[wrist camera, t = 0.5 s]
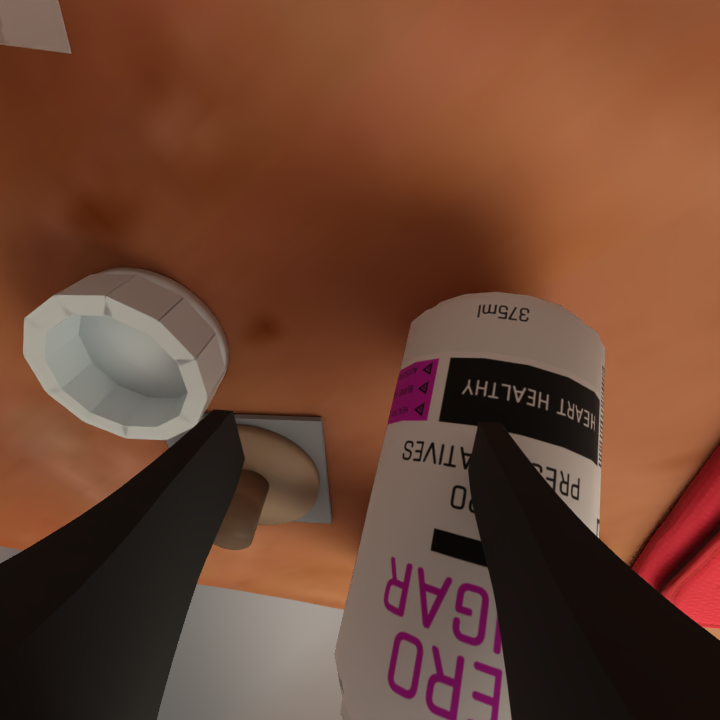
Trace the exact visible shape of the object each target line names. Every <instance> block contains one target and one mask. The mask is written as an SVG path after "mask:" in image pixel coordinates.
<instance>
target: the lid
mask: <svg viewBox="0 0 720 720" xmlns="http://www.w3.org/2000/svg"><path fill="white" fill-rule="evenodd" d="M236 425H237V429H238V433H239V437H240V440H241V444H242V448H243V452H244V456H245V461H244V464H243V468H242V472H241V475H240V479H239V482H238V485H237V488H236V491H235V494H234V496H233V498H232V501H231V503H230V505H229V508H228V510H227V513H226V515H225V517H224V519H223V522H222V524H221V526H220V529H219V531H218V533H217V535H216V538H215V540H214V542H213V544H215V545H217V546H219V547H221V548H225V549H230V550H241V549H245V548H247V547H249V546H250V545H251V543H252V540H253V537H254V534H255V531H256V528H257V525H277V524H284V523H288V522H291V521H294V520H296V519H298V518H300V517H302V516H304V515H305V514H306V513H308V512H309V511H310V510H311V509H312V507H313V506H314V504H315V503H316V500H317V497H318V492H319V486H320V476H319V472H318V469H317V467H316V465H315V463H314V462H313V460H312V459H311V457H310V456H309V455H308V454H307V453H306V452H305V451H304V450H303V449H302V448H301V447H300V446H298V445H297V444H296V443H294V442H293V441H291V440H290V439H288V438H286V437H284V436H282V435H280V434H278V433H276V432H273V431H270V430H268V429H264V428H261V427H256V426H251V425H242V424H236Z"/></svg>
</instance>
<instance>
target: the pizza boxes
mask: <svg viewBox="0 0 720 720" xmlns="http://www.w3.org/2000/svg"><path fill="white" fill-rule="evenodd" d="M0 45H8V46H15V47H23V48H31V49H38V50H46V51H54V52H62V53H69V54H72V53H71V49H70V45H69V41H68V37H67V33H66V29H65V25H64V21H63V17H62V13H61V9H60V5H59V1H58V0H0Z"/></svg>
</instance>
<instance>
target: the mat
mask: <svg viewBox="0 0 720 720" xmlns="http://www.w3.org/2000/svg"><path fill="white" fill-rule="evenodd" d="M208 414H209V413H204V414H203V415H202V417H201V419H200V420H199V422H200V421H201V420H202V419H203V418H204V417H206V416H207V415H208ZM234 417H235V421H236V424H242V425H251V426H256V427H261V428H264V429H268V430H270V431H273V432H276V433H278V434H280V435H282V436H284V437H286V438H288V439H290V440H291V441H293V442H294V443H296V444H297V445H298V446H300V447H301V448H302V449H303V450H304V451H305V452H306V453H307V454H308V455H309V456H310V457H311V459H312V460H313V462H314V463H315V465H316V467H317V469H318V472H319V476H320V486H319V492H318V497H317V500H316V503H315V504H314V506H313V507H312V509H311V510H310V511H309V512H308V513H306V514H305V515H304V516H302V517H300V518H298V519H296V520H294V521H291V522H309V523H327V524H332V513H331V503H330V493H329V483H328V473H327V463H326V454H325V444H324V434H323V424H322V417H302V416H274V415H246V414H234ZM199 422H198V423H199ZM191 429H192V428H191ZM191 429H189V430H187V431H185V432H183V433H180V434H178V435H176V436H174V437H172V438H170V439H168V440H166V442H167V445H168V447H169V448H170V447H171V446H172V445H174V444H175V443H176V442H177V441H178V440H179V439H181V438H182V437H183V436H184V435H185V434H186V433H187V432H189V431H190V430H191Z"/></svg>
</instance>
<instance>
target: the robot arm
mask: <svg viewBox="0 0 720 720" xmlns="http://www.w3.org/2000/svg"><path fill="white" fill-rule="evenodd" d="M244 461H245V456H244V452H243V448H242V444H241V440H240V437H239V433H238V429H237V425H236V421H235V417H234V413H233V411H222V410H213V411H212V412H210V413H209V414H208V415H207V416H206V417H204V418H203V419H202V420H201V421H200V422H199V423H198V424H196V425H195V426H194V427H193V428H192V429H191V430H190V431H189V432H187V433H186V434H185V435H184V436H183V437H182V438H181V439H179V440H178V441H177V442H176V443H175V444H174V445H172V446H171V447H170V448H169V449H168V450H167V451H165V452H164V453H163V454H162V455H161V456H160V457H158V458H157V459H156V460H155V461H154V462H152V463H151V464H150V465H148V466H147V467H146V468H145V469H143V470H142V471H141V472H140V473H138V474H137V475H136V476H135V477H133V478H132V479H131V480H129V481H128V482H127V483H126V484H124V485H123V486H122V487H121V488H119V489H118V490H116V491H115V492H114V493H112V494H111V495H110V496H108V497H107V498H105V499H104V500H103V501H101V502H100V503H98V504H97V505H95V506H94V507H92V508H91V509H89V510H88V511H87V512H85V513H84V514H82V515H81V516H79V517H78V518H76V519H75V520H73V521H71V522H70V523H68V524H67V525H65V526H63V527H62V528H60V529H58V530H57V531H55V532H53V533H52V534H50V535H49V536H47V537H45V538H44V539H42V540H40V541H39V542H37V543H36V544H34V545H32V546H31V547H29V548H27V549H25V550H24V551H22V552H20V553H19V554H17V555H15V556H13V557H11V558H9V559H8V560H6V561H4V562H2V563H1V564H0V720H157V716H158V712H159V708H160V704H161V700H162V697H163V693H164V690H165V686H166V682H167V679H168V675H169V672H170V668H171V664H172V661H173V657H174V654H175V651H176V647H177V644H178V641H179V637H180V634H181V631H182V628H183V624H184V621H185V618H186V615H187V611H188V609H189V606H190V603H191V599H192V596H193V593H194V590H195V587H196V584H197V581H198V578H199V576H200V573H201V571H202V568H203V566H204V563H205V561H206V558H207V556H208V554H209V552H210V549H211V547H212V545H213V542H214V540H215V538H216V535H217V533H218V531H219V529H220V526H221V524H222V522H223V519H224V517H225V515H226V513H227V510H228V508H229V505H230V503H231V501H232V498H233V496H234V494H235V491H236V488H237V485H238V482H239V479H240V475H241V472H242V468H243V464H244ZM468 475H469V484H470V492H471V499H472V506H473V510H474V514H475V518H476V522H477V527H478V531H479V535H480V539H481V543H482V547H483V551H484V555H485V559H486V563H487V567H488V571H489V575H490V579H491V583H492V588H493V593H494V598H495V603H496V610H497V616H498V623H499V629H500V636H501V643H502V650H503V657H504V664H505V672H506V679H507V686H508V694H509V703H510V711H511V719H512V720H720V640H718V639H717V638H716V637H714V636H713V635H712V634H711V633H709V632H708V631H707V630H705V629H704V628H703V627H701V626H700V625H699V624H698V623H696V622H695V621H694V620H692V619H691V618H690V617H689V616H687V615H686V614H685V613H683V612H682V611H681V610H680V609H679V608H677V607H676V606H675V605H674V604H672V603H671V602H670V601H669V600H668V599H666V598H665V597H664V596H663V595H662V594H660V593H659V592H658V591H657V590H656V589H655V588H653V587H652V586H651V585H650V584H649V583H648V582H646V581H645V580H644V579H643V578H642V577H640V576H639V575H638V574H637V573H636V572H635V571H633V570H632V569H631V568H630V567H629V566H628V565H627V564H626V563H624V562H623V561H622V560H621V559H620V558H619V557H618V556H617V555H616V554H615V553H614V552H613V551H612V550H610V549H609V548H608V547H607V546H606V545H605V544H604V543H603V542H602V541H601V540H600V539H599V538H598V537H597V536H596V535H595V534H594V533H593V532H592V531H591V530H590V529H589V528H588V527H587V526H586V525H585V524H584V523H583V522H582V521H581V520H580V519H579V517H578V516H577V515H576V514H575V513H574V512H573V511H572V510H571V509H570V508H569V507H568V505H567V504H566V503H565V502H564V501H563V500H562V499H561V498H560V497H559V495H558V494H557V493H556V492H555V491H554V490H553V488H552V487H551V486H550V485H549V484H548V482H547V481H546V480H545V479H544V478H543V476H542V475H541V474H540V473H539V472H538V470H537V469H536V468H535V467H534V465H533V464H532V463H531V462H530V460H529V459H528V458H527V457H526V455H525V454H524V453H523V451H522V450H521V449H520V447H519V446H518V445H517V443H516V442H515V441H514V439H513V438H512V437H511V435H510V434H509V433H508V431H507V430H506V429H505V427H504V426H503V425H502V424H501V423H496V422H478V427H477V431H476V436H475V440H474V445H473V449H472V454H471V459H470V463H469V468H468Z"/></svg>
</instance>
